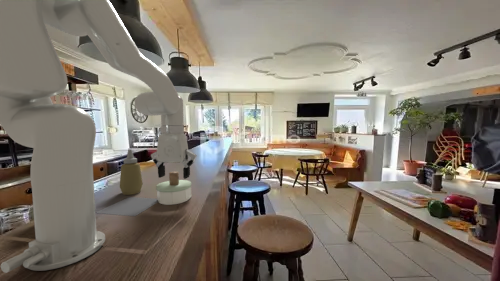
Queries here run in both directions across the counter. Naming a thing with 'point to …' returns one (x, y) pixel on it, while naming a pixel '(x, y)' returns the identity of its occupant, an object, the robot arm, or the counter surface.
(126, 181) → the squeeze bottle
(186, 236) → the counter surface
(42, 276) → the counter surface
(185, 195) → the bowl
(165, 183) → the lid
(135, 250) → the counter surface
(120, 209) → the mat
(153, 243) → the counter surface
